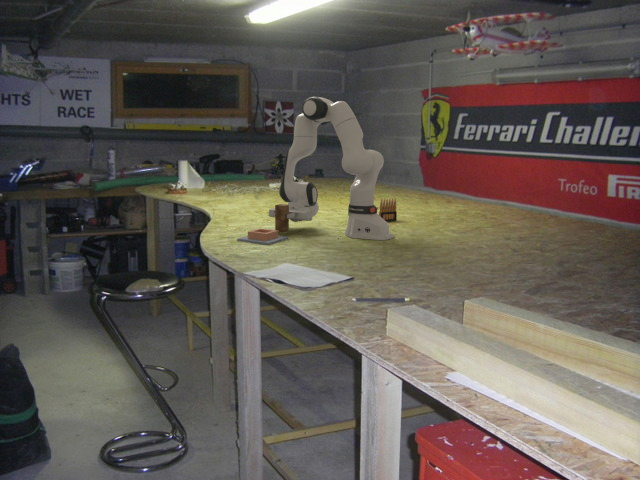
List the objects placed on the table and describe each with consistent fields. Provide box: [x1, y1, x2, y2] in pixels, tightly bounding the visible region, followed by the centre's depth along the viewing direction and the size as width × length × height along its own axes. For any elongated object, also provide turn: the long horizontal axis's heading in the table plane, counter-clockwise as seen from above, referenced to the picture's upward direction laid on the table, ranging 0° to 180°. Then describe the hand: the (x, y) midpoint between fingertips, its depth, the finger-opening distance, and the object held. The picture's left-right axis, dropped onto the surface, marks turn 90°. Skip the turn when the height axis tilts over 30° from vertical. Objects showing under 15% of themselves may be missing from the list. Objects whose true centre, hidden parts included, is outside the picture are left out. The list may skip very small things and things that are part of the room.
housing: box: [236, 227, 289, 246], centre depth 272 cm, size 16×16×4 cm
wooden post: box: [274, 203, 290, 233], centre depth 284 cm, size 4×4×12 cm
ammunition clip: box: [378, 198, 398, 223], centre depth 330 cm, size 11×2×12 cm, turn 120°
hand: (281, 215), depth 283 cm, fingers closed on wooden post, 4 cm apart
